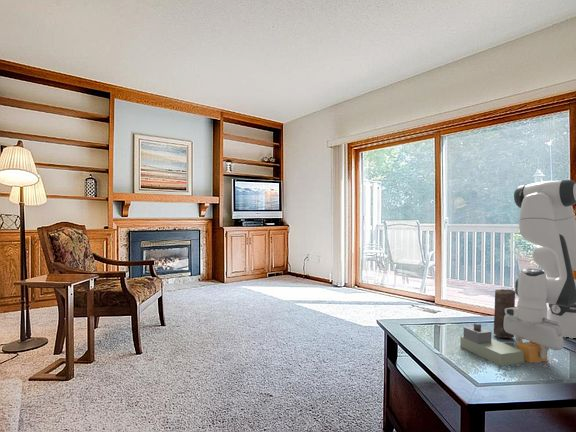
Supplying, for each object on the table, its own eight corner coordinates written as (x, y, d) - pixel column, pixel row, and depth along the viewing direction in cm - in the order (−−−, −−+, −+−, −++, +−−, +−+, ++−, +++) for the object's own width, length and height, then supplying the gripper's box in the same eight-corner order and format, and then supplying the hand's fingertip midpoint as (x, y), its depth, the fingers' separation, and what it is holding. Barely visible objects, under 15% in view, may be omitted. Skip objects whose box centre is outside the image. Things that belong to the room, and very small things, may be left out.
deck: (500, 342, 140) (501, 317, 140) (545, 359, 123) (545, 331, 123) (460, 346, 134) (460, 320, 134) (500, 366, 117) (501, 336, 117)
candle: (517, 341, 141) (518, 292, 141) (497, 339, 143) (498, 291, 143) (509, 335, 149) (510, 288, 149) (490, 333, 150) (491, 287, 150)
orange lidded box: (533, 354, 127) (533, 338, 127) (547, 360, 122) (547, 343, 122) (516, 357, 125) (516, 340, 125) (529, 362, 120) (530, 345, 120)
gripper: (568, 322, 115) (568, 364, 115) (513, 306, 135) (513, 342, 135) (554, 324, 114) (553, 366, 114) (500, 307, 133) (500, 343, 133)
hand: (531, 353), depth 124 cm, fingers open, 6 cm apart
